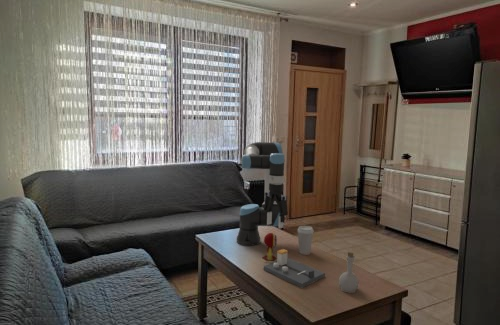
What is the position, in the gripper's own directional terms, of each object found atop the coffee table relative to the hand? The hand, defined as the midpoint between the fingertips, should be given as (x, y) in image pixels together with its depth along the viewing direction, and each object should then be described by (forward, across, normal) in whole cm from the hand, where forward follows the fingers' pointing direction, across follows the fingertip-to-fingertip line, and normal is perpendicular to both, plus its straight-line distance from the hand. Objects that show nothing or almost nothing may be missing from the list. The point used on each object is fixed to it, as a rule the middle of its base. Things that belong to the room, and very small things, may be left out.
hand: (274, 225), depth 183 cm
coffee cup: (+21, 0, +26) cm, 34 cm away
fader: (+19, +6, 0) cm, 20 cm away
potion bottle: (+21, +41, +6) cm, 47 cm away
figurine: (+21, -6, +3) cm, 22 cm away
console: (+21, +14, 0) cm, 25 cm away
